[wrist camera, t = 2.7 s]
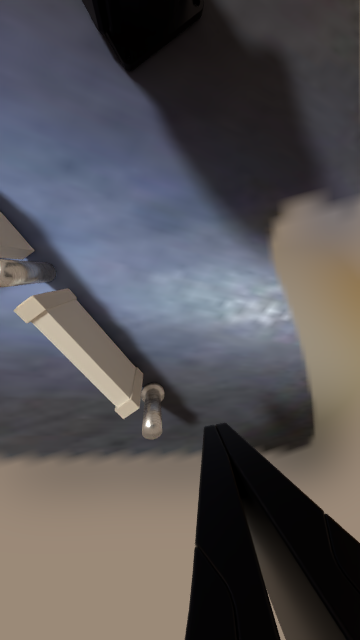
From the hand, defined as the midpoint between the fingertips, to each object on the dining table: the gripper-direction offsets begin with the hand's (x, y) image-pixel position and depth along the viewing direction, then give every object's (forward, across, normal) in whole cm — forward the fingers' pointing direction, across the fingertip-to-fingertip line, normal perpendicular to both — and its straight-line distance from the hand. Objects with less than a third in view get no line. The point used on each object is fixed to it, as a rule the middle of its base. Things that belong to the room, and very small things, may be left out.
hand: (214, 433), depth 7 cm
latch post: (+12, +3, +6) cm, 14 cm away
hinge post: (+12, +10, -7) cm, 17 cm away
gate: (+12, +7, 0) cm, 13 cm away
